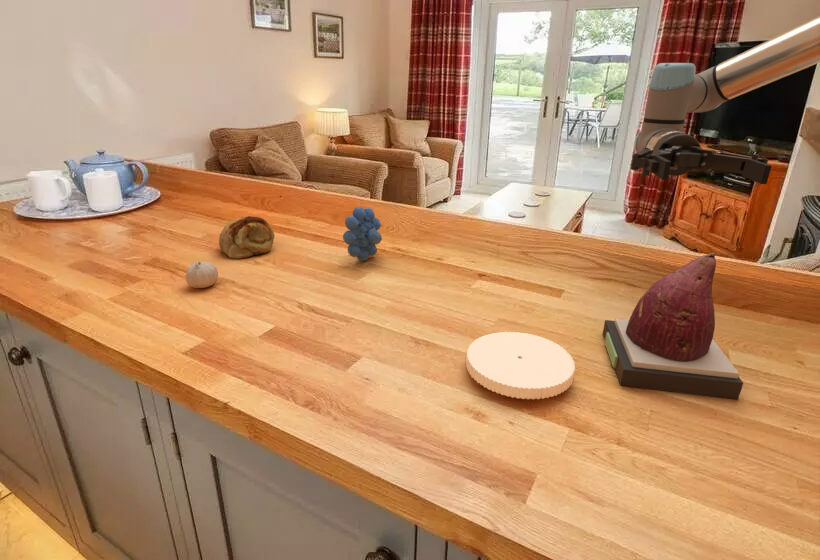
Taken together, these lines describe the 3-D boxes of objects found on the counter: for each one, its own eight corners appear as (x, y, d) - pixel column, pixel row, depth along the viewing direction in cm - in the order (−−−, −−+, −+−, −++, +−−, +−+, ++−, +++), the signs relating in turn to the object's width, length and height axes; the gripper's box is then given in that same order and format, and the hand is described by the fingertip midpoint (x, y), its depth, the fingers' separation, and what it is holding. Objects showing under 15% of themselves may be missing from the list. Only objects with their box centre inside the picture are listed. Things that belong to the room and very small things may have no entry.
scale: (699, 343, 74) (705, 324, 73) (738, 399, 61) (745, 377, 60) (600, 333, 76) (603, 314, 75) (617, 385, 64) (622, 363, 62)
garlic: (203, 294, 87) (199, 267, 85) (180, 289, 89) (175, 262, 87) (226, 282, 93) (223, 256, 90) (204, 277, 94) (200, 252, 92)
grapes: (362, 273, 97) (361, 215, 93) (336, 266, 101) (334, 209, 96) (395, 257, 106) (396, 202, 102) (370, 251, 110) (370, 198, 105)
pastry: (248, 263, 102) (244, 225, 99) (204, 253, 107) (198, 217, 104) (291, 243, 114) (288, 210, 111) (249, 236, 119) (245, 203, 115)
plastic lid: (472, 405, 59) (473, 388, 58) (460, 346, 72) (461, 331, 71) (587, 406, 59) (590, 389, 58) (555, 347, 72) (557, 332, 71)
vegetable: (699, 355, 70) (760, 263, 64) (695, 382, 62) (765, 279, 56) (628, 319, 75) (679, 230, 69) (615, 340, 66) (672, 240, 60)
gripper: (739, 175, 92) (801, 202, 72) (600, 169, 96) (622, 193, 76) (751, 134, 89) (818, 150, 69) (606, 129, 93) (631, 144, 74)
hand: (715, 172), depth 73 cm, fingers open, 13 cm apart
